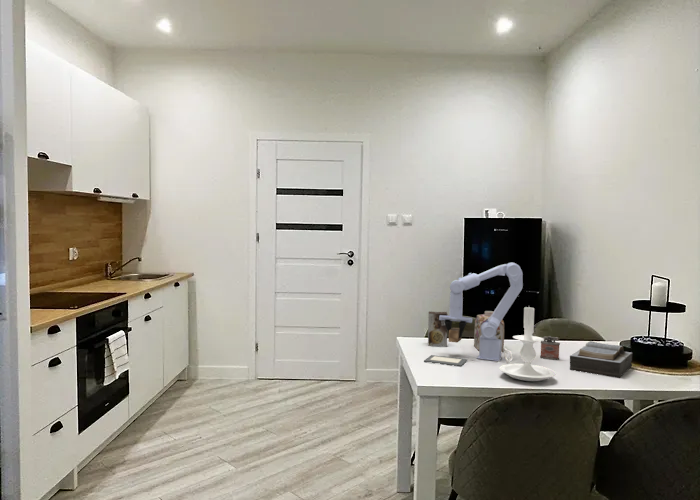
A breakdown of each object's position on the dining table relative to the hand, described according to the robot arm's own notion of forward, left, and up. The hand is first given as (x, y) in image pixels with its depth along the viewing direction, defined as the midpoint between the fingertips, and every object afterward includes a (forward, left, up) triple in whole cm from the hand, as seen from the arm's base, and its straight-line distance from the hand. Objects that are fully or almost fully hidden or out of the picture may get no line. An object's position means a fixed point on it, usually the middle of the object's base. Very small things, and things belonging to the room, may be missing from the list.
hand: (455, 337), depth 242 cm
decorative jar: (-11, -23, -9) cm, 27 cm away
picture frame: (+1, +12, -8) cm, 15 cm away
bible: (-60, -8, -9) cm, 61 cm away
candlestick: (-32, +22, -9) cm, 40 cm away
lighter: (-39, -16, -9) cm, 43 cm away
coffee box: (+13, -19, -9) cm, 25 cm away
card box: (0, 0, -1) cm, 1 cm away
